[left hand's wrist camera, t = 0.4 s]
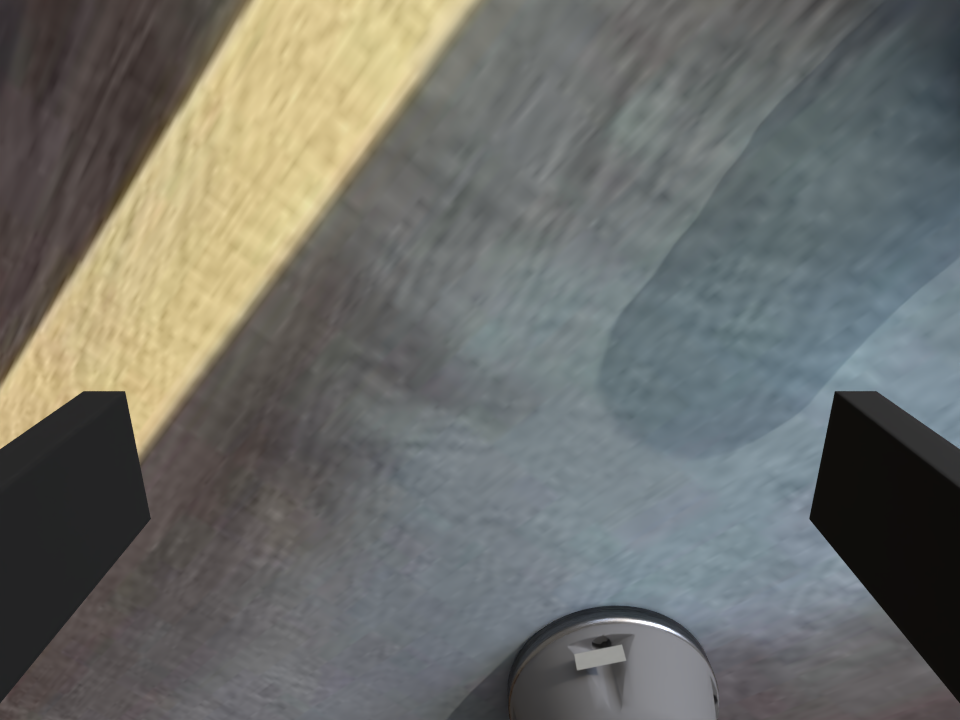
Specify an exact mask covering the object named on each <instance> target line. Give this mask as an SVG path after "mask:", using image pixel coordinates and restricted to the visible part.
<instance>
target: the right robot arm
mask: <svg viewBox="0 0 960 720" xmlns="http://www.w3.org/2000/svg"><path fill="white" fill-rule="evenodd" d="M508 704H509V717H510V720H717V719H718V712H719V694H718V686H717V681H716V678H715V675H714V673H713V670H712V668H711V666H710V663H709V661H708V658H707V656H706V654H705V652H704V650H703V648H702V646H701V645H700V643H699V642H698V641H697V639H696V638H695V637H694V636H693V635H692V634H691V633H690V632H689V631H688V630H687V629H686V628H684V627H683V626H682V625H680V624H679V623H677V622H676V621H674V620H672V619H670V618H668V617H666V616H664V615H662V614H659V613H657V612H654V611H650V610H647V609H642V608H637V607H629V606H603V607H595V608H590V609H585V610H581V611H578V612H575V613H572V614H569V615H567V616H564V617H562V618H560V619H558V620H556V621H554V622H552V623H550V624H549V625H547V626H546V627H544V628H543V629H541V630H540V631H539V632H538V633H536V634H535V635H534V636H533V637H532V638H531V639H530V640H529V641H528V642H527V643H526V644H525V645H524V647H523V648H522V649H521V651H520V652H519V654H518V656H517V657H516V659H515V661H514V663H513V665H512V668H511V671H510V675H509V680H508Z"/></svg>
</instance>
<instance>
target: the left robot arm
mask: <svg viewBox="0 0 960 720" xmlns="http://www.w3.org/2000/svg"><path fill="white" fill-rule="evenodd" d="M150 519H151V518H150V513H149V508H148V503H147V498H146V493H145V488H144V483H143V478H142V473H141V468H140V463H139V458H138V453H137V448H136V443H135V438H134V433H133V428H132V423H131V418H130V414H129V409H128V404H127V399H126V394H125V391H83V392H82V393H81V394H79V395H78V396H76V397H75V398H73V399H72V400H70V401H69V402H68V403H66V404H65V405H63V406H62V407H60V408H59V409H57V410H56V411H55V412H53V413H52V414H50V415H49V416H47V417H46V418H45V419H43V420H42V421H40V422H39V423H37V424H36V425H34V426H33V427H32V428H30V429H29V430H27V431H26V432H24V433H23V434H22V435H20V436H19V437H17V438H16V439H14V440H13V441H11V442H10V443H9V444H7V445H6V446H4V447H3V448H1V449H0V703H1V701H2V700H3V699H4V698H5V697H6V695H7V694H8V693H9V692H10V690H11V689H12V688H13V687H14V686H15V684H16V683H17V682H18V681H19V679H20V678H21V677H22V676H23V675H24V673H25V672H26V671H27V670H28V668H29V667H30V666H31V665H32V664H33V662H34V661H35V660H36V659H37V657H38V656H39V655H40V654H41V653H42V651H43V650H44V649H45V648H46V646H47V645H48V644H49V643H50V642H51V640H52V639H53V638H54V637H55V635H56V634H57V633H58V632H59V630H60V629H61V628H62V627H63V626H64V624H65V623H66V622H67V621H68V619H69V618H70V617H71V616H72V615H73V613H74V612H75V611H76V610H77V608H78V607H79V606H80V605H81V604H82V602H83V601H84V600H85V599H86V597H87V596H88V595H89V594H90V593H91V591H92V590H93V589H94V588H95V586H96V585H97V584H98V583H99V582H100V580H101V579H102V578H103V577H104V575H105V574H106V573H107V572H108V571H109V569H110V568H111V567H112V566H113V564H114V563H115V562H116V561H117V560H118V558H119V557H120V556H121V555H122V553H123V552H124V551H125V550H126V548H127V547H128V546H129V545H130V544H131V542H132V541H133V540H134V539H135V537H136V536H137V535H138V534H139V533H140V531H141V530H142V529H143V528H144V526H145V525H146V524H147V523H148V522H149V520H150ZM809 519H810V520H811V522H812V523H813V524H814V525H815V526H816V528H817V529H818V530H819V531H820V533H821V534H822V535H823V536H824V537H825V539H826V540H827V541H828V542H829V544H830V545H831V546H832V547H833V548H834V550H835V551H836V552H837V553H838V555H839V556H840V557H841V558H842V560H843V561H844V562H845V563H846V564H847V566H848V567H849V568H850V569H851V571H852V572H853V573H854V574H855V575H856V577H857V578H858V579H859V580H860V582H861V583H862V584H863V585H864V586H865V588H866V589H867V590H868V591H869V593H870V594H871V595H872V596H873V597H874V599H875V600H876V601H877V602H878V604H879V605H880V606H881V607H882V608H883V610H884V611H885V612H886V613H887V615H888V616H889V617H890V618H891V619H892V621H893V622H894V623H895V624H896V626H897V627H898V628H899V629H900V630H901V632H902V633H903V634H904V635H905V637H906V638H907V639H908V640H909V642H910V643H911V644H912V645H913V646H914V648H915V649H916V650H917V651H918V653H919V654H920V655H921V656H922V657H923V659H924V660H925V661H926V662H927V664H928V665H929V666H930V667H931V668H932V670H933V671H934V672H935V673H936V675H937V676H938V677H939V678H940V679H941V681H942V682H943V683H944V684H945V686H946V687H947V688H948V689H949V690H950V692H951V693H952V694H953V695H954V697H955V698H956V699H957V700H958V701H959V703H960V449H959V448H957V447H956V446H954V445H953V444H951V443H950V442H949V441H947V440H946V439H944V438H943V437H941V436H940V435H938V434H937V433H936V432H934V431H933V430H931V429H930V428H928V427H927V426H926V425H924V424H923V423H921V422H920V421H918V420H917V419H915V418H914V417H913V416H911V415H910V414H908V413H907V412H905V411H904V410H902V409H901V408H900V407H898V406H897V405H895V404H894V403H892V402H891V401H890V400H888V399H887V398H885V397H884V396H882V395H881V394H879V393H878V392H877V391H835V394H834V399H833V404H832V409H831V414H830V418H829V423H828V428H827V433H826V438H825V443H824V448H823V453H822V458H821V463H820V468H819V473H818V478H817V483H816V488H815V493H814V498H813V503H812V508H811V513H810V518H809Z"/></svg>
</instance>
